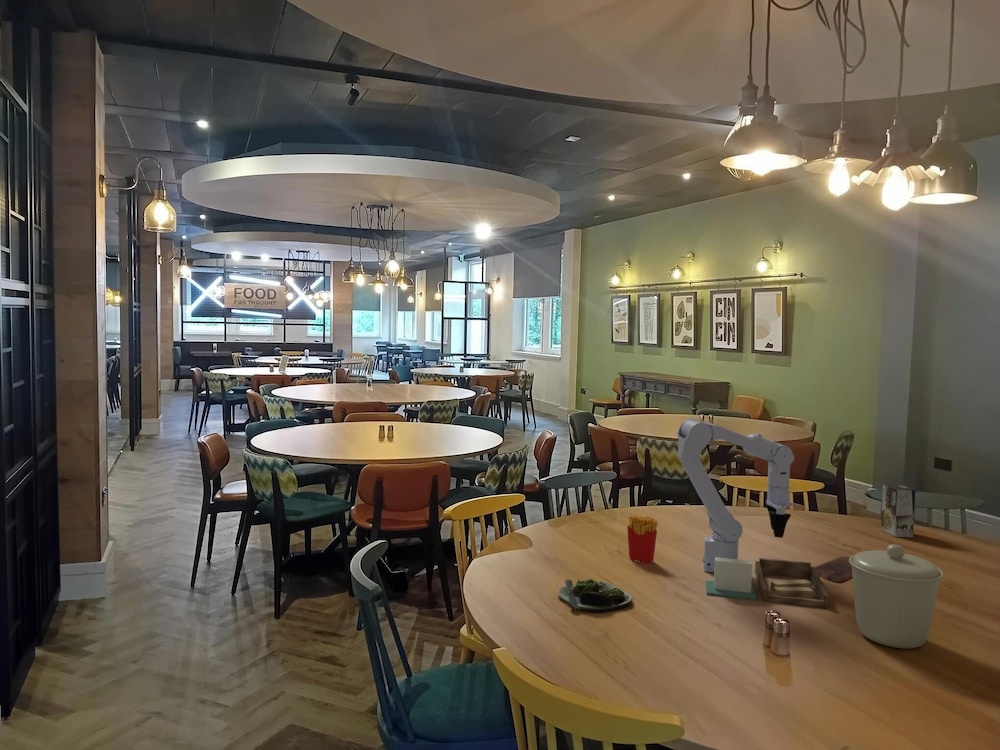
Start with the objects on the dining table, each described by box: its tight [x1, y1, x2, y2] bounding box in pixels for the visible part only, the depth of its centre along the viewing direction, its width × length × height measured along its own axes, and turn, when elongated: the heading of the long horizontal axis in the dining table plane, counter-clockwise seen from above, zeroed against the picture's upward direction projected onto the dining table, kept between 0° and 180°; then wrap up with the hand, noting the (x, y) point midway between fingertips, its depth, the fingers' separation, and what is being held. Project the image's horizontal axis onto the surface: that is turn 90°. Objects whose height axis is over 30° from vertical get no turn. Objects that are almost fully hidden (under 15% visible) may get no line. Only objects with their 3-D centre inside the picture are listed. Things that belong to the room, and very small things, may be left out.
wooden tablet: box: [813, 555, 853, 584], centre depth 200 cm, size 26×2×10 cm
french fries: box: [627, 514, 659, 564], centre depth 204 cm, size 9×4×13 cm, turn 50°
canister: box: [849, 543, 945, 650], centre depth 153 cm, size 18×18×21 cm
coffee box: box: [880, 483, 916, 538], centre depth 236 cm, size 9×6×16 cm
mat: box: [705, 580, 757, 601], centre depth 181 cm, size 12×9×1 cm
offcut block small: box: [773, 587, 814, 599], centre depth 176 cm, size 9×2×3 cm, turn 88°
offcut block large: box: [769, 578, 813, 595], centre depth 179 cm, size 10×2×4 cm, turn 99°
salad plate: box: [557, 578, 633, 614], centre depth 175 cm, size 19×18×5 cm
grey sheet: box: [713, 557, 753, 593], centre depth 180 cm, size 9×3×8 cm, turn 74°
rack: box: [754, 557, 830, 609], centre depth 183 cm, size 15×23×4 cm
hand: (777, 533), depth 198 cm, fingers open, 7 cm apart
